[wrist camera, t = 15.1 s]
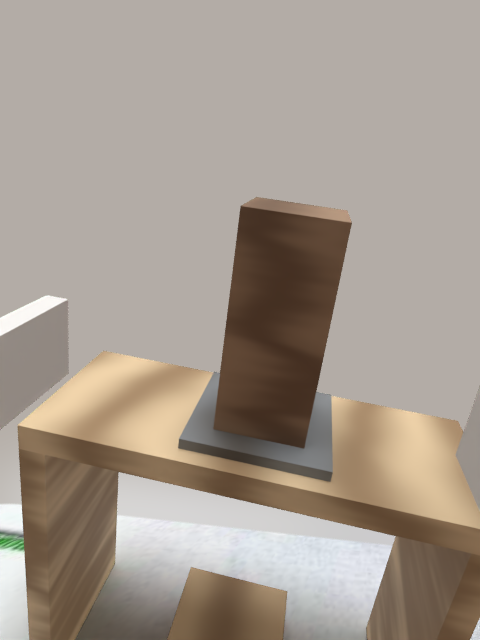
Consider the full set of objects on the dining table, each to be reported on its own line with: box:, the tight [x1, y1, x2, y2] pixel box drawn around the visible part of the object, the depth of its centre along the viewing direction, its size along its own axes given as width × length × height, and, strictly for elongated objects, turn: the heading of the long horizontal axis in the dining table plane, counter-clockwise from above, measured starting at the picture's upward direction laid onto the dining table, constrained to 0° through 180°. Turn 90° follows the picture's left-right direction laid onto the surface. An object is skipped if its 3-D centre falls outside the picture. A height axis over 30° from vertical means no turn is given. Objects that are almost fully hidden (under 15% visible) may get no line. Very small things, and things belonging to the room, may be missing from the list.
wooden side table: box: [18, 351, 480, 640], centre depth 31 cm, size 25×10×21 cm, turn 80°
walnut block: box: [213, 197, 352, 449], centre depth 25 cm, size 5×5×12 cm
